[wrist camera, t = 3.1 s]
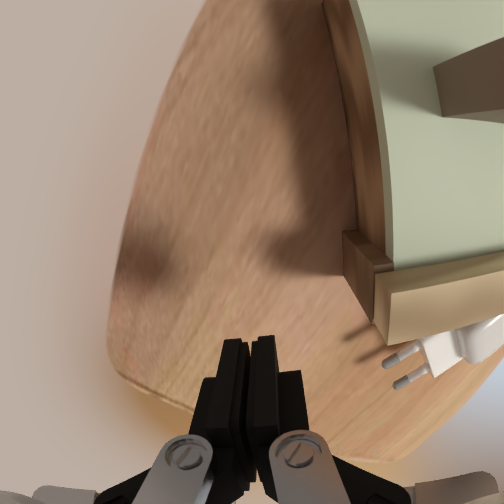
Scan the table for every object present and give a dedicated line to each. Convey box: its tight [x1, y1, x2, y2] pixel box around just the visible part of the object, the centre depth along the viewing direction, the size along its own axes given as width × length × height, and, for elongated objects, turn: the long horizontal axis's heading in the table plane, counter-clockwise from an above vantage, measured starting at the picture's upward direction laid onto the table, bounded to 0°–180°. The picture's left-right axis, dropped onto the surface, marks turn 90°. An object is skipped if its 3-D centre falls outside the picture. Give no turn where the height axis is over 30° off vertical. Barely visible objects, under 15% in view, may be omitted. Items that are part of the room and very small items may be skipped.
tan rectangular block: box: [374, 252, 504, 346], centre depth 11 cm, size 2×10×2 cm, turn 98°
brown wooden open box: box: [322, 0, 394, 325], centre depth 13 cm, size 18×14×6 cm
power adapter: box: [382, 314, 504, 390], centre depth 17 cm, size 11×5×6 cm, turn 124°
